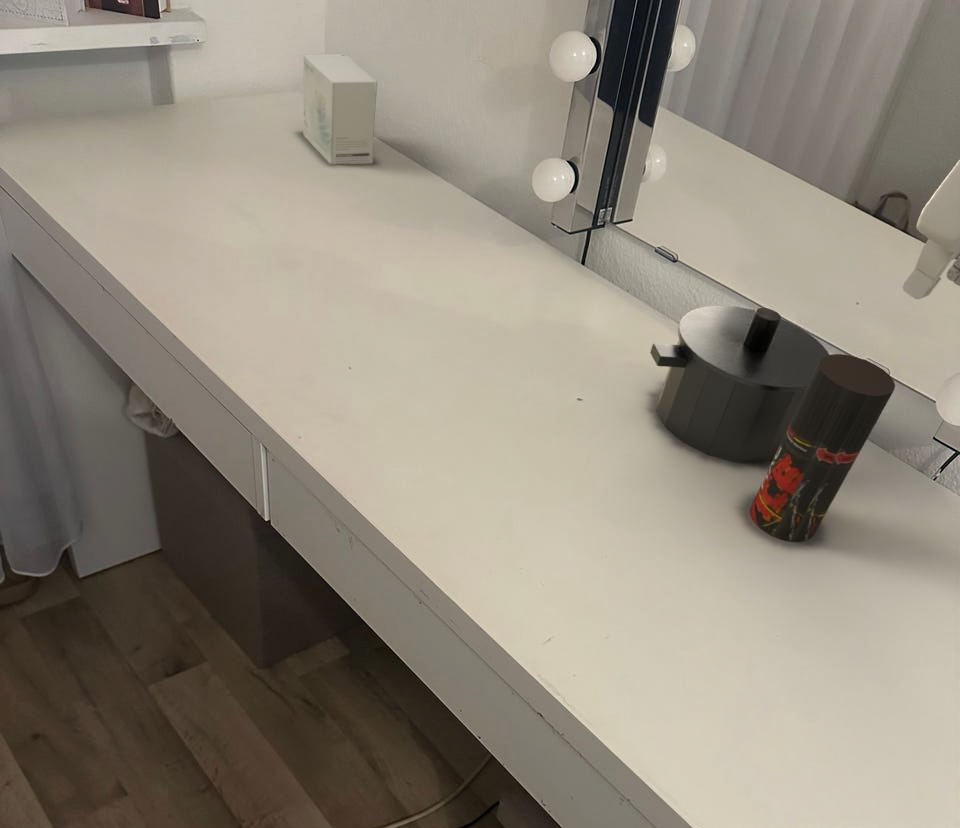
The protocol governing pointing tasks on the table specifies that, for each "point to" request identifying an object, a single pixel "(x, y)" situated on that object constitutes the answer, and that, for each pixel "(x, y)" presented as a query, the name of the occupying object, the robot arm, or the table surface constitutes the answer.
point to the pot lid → (751, 347)
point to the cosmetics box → (339, 108)
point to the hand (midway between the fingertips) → (935, 287)
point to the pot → (721, 410)
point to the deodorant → (820, 446)
